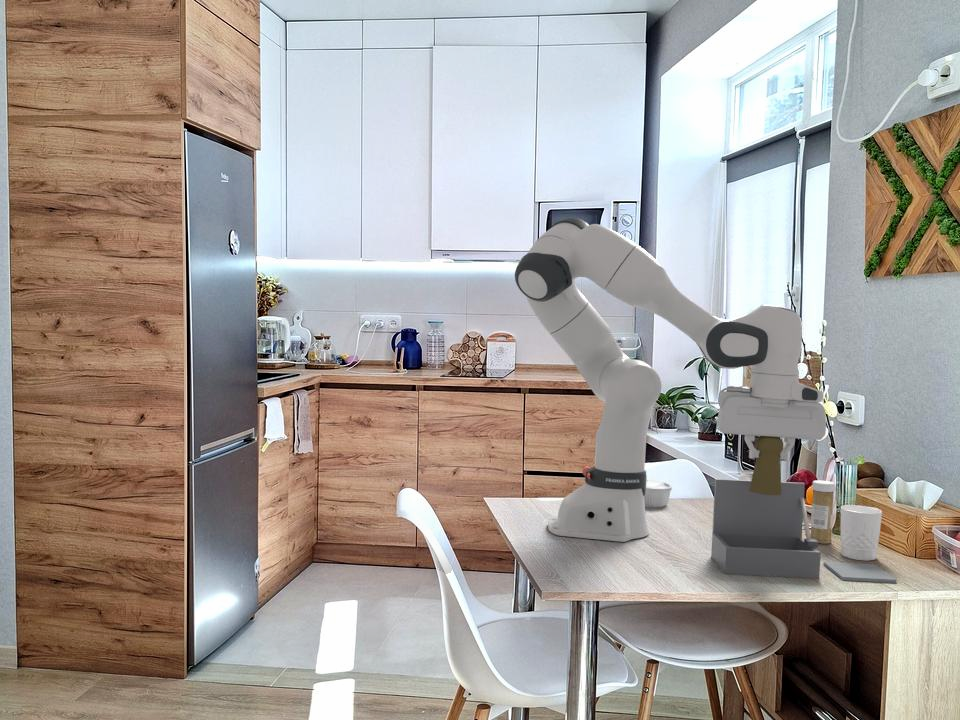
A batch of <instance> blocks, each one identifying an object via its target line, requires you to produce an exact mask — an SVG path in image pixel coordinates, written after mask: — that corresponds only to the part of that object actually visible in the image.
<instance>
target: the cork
mask: <svg viewBox="0 0 960 720" xmlns="http://www.w3.org/2000/svg"><path fill="white" fill-rule="evenodd" d="M784 446H785V445H784V440H783V438H782V439H781V437H768V436H757V439H756V440H755V445H754V447H755V449H757V450H759V459H755V462H754V466H753V467H754V468H753V470H752V471H753V476H752V480H751V485H750V489H749V491H751V492H754V493H758V494H764V495H781V494H782V493H781V482H782V478H781V477H782V475H781V474H782V473H781V472H782V471H781V461H780V453H781V452H782V450H783V448H784Z"/></svg>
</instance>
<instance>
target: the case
mask: <svg viewBox="0 0 960 720" xmlns="http://www.w3.org/2000/svg"><path fill="white" fill-rule="evenodd" d="M750 485H751V480H738V479H730V478H729V479H728V478H727V479H726V478H715V479H714V493H713V494H714V497H713V513H712V531H711V532H712V533H711V534H712V537H711V552H710V555H711V556H710V558H711V559H712V560H713V561H714V563H716V564H717V566H718V567H719V569H721V571H722V572H723V573H724V575H738V576H739V575H740V576H741V575H742V576H743V575H744V576H745V575H746V576H757V577H758V576H759V575H760V576H761V577H762V576H763V577H777V576H781V577H780V578H797V577H801V578H802V579H816V578H817V579H818V580H819V579H820V572H821V571H820V570H821V558H822V557H821V554H822V552H821V551H820V550H818V548H819V543H818V541H816V540H815V539H811V529H810V523H809V519H808V515H807V514H808V513H807V507H806V502H805V491H806V490H805V486H806V483H805V482H795V481H792V482H791V481H781V493H782V494H781V495H764V494H758V493H754V492H751V491H749V489H750ZM803 525H804V530H805V538H803ZM782 576H783V577H782ZM784 576H785V577H784Z"/></svg>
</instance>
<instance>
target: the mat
mask: <svg viewBox="0 0 960 720" xmlns="http://www.w3.org/2000/svg"><path fill="white" fill-rule="evenodd" d="M822 563H823V566H824V567H826V568H827V569H828V570H829V571H830V572H832V573H833V574H834V575H835V576H836V577H838V578H839V579H840V580H841V581H850V582H851V581H852V582H855V581H856V582H870V583H871V582H872V583H875V582H876V583H891V584H897V582H898V581H897V579H896V578H895V577H894V576H892V575H890V574H889V573H887V572H886V571H885V570H883V569H882V568H881V567H880V566H878V565H876V564H874V563H872V564H871V563H855V562H854V563H852V562H833V561H832V562H831V561H823V562H822Z"/></svg>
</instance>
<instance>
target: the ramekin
mask: <svg viewBox="0 0 960 720" xmlns="http://www.w3.org/2000/svg"><path fill="white" fill-rule="evenodd" d="M672 487H673V486H672V485H671V484H670V483H667V482H663V481H658V480H649V479H648V480H647V482H646V492H645V496H644V504H645V508H663V507H666V506H667V505H668V503H669V500H670V495H671V491H672V489H673V488H672Z"/></svg>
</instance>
